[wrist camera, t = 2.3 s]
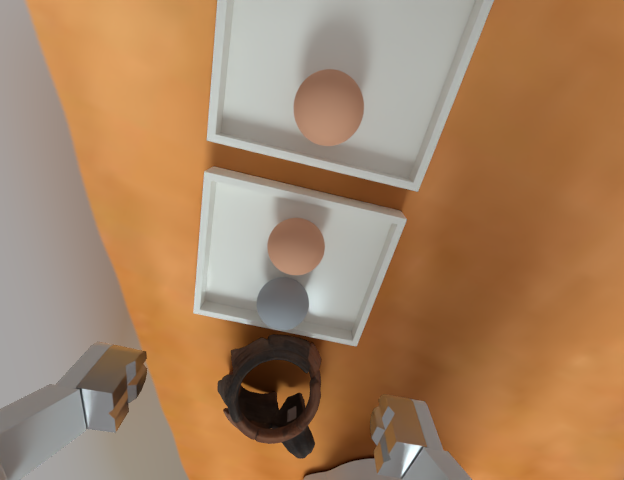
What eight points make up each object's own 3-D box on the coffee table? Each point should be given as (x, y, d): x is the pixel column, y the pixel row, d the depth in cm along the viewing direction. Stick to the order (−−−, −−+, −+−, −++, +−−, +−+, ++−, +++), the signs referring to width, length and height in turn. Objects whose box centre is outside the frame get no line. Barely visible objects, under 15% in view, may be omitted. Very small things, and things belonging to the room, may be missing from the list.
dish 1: (410, 184, 21) (417, 191, 20) (216, 137, 20) (206, 140, 19) (491, -26, 16) (509, -40, 15) (237, -101, 15) (227, -125, 14)
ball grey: (304, 311, 26) (301, 346, 22) (258, 302, 25) (247, 335, 22) (314, 273, 24) (313, 304, 20) (266, 262, 24) (255, 291, 20)
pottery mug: (204, 354, 30) (188, 392, 22) (282, 298, 32) (294, 314, 24) (271, 447, 31) (280, 516, 23) (343, 387, 33) (374, 432, 25)
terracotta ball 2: (349, 148, 20) (355, 158, 16) (290, 133, 20) (283, 140, 16) (368, 81, 18) (379, 77, 14) (303, 64, 18) (299, 55, 14)
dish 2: (354, 331, 27) (356, 346, 26) (201, 299, 26) (193, 313, 25) (400, 210, 22) (407, 219, 20) (213, 166, 21) (204, 171, 20)
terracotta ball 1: (317, 262, 24) (316, 292, 20) (268, 251, 23) (257, 279, 20) (330, 216, 22) (332, 239, 18) (277, 204, 22) (267, 225, 18)
